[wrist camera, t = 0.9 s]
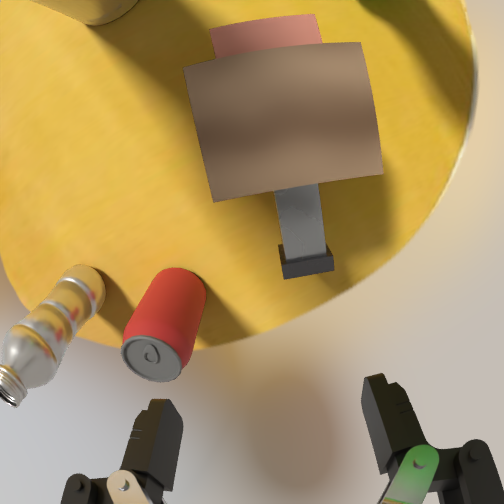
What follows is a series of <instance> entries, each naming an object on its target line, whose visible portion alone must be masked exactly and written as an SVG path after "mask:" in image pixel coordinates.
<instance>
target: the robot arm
mask: <svg viewBox="0 0 504 504" xmlns="http://www.w3.org/2000/svg"><path fill="white" fill-rule="evenodd" d="M30 1H33V2H35V3H38V4H41V5H43V6H46V7H48V8H51V9H53V10H55V11H58V12H60V13H62V14H65V15H67V16H69V17H71V18H73V19H76V20H78V21H80V22H82V23H84V24H87V25H102V24H106V23H109V22H111V21H113V20H115V19H117V18H119V17H121V16H122V15H123V14H125V13H126V12H128V11H129V10H130V9H131V8H132V7H133V6H134V5H135V4H136V3H137V1H138V0H30ZM361 404H362V409H363V414H364V417H365V420H366V424H367V427H368V431H369V434H370V438H371V441H372V445H373V448H374V452H375V456H376V460H377V464H378V467H379V471H380V474H384V473H388V475H389V479H390V480H389V482H388V484H387V486H386V488H385V490H384V492H383V493H382V496H381V497H380V499H379V501H378V503H377V504H422V503H423V501H424V498H425V496H426V494H427V493H428V492H437V493H438V497H439V502H440V504H504V490H503V487H502V484H501V480H500V477H499V474H498V471H497V468H496V466H495V463H494V460H493V457H492V454H491V452H490V450H489V447H488V445H487V444H486V443H485V442H484V441H482V440H478V439H474V440H470V441H468V442H467V443H466V444H465V445H463V447H459V448H451V449H437V448H435V447H433V446H431V445H430V444H429V443H428V442H427V441H426V439H425V436H424V434H423V432H422V429H421V427H420V424H419V422H418V419H417V417H416V414H415V412H414V411H413V407H412V405H411V403H410V402H409V398H408V396H407V393H406V391H405V390H404V389H403V388H402V387H401V386H400V385H399V384H398V383H397V382H395V383H391V384H388V383H387V380H386V378H385V376H384V374H383V373H380V374H376V375H372V376H368V377H365V378H364V384H363V391H362V398H361ZM182 433H183V421H182V418H181V416H180V415H179V413H178V412H177V410H176V408H175V407H174V405H173V404H172V402H171V400H169V399H152V400H151V401H150V404H149V406H148V410H142V411H141V413H140V414H139V415H138V416H137V418H136V419H135V422H134V425H133V431H132V432H131V435H130V439H129V441H128V445H127V448H126V451H125V455H124V458H123V462H122V465H121V468H120V469H119V470H118V471H115V472H113V473H112V474H111V475H110V476H109V477H107V478H98V479H89V478H88V477H86V476H85V475H83V474H74V475H72V476H70V477H69V478H68V480H67V482H66V485H65V489H64V492H63V496H62V500H61V504H167V503H166V501H165V500H164V498H163V497H162V496H163V491H172V490H173V484H174V477H175V472H176V466H177V461H178V455H179V449H180V444H181V439H182Z"/></svg>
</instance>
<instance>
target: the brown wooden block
mask: <svg viewBox="0 0 504 504" xmlns="http://www.w3.org/2000/svg"><path fill="white" fill-rule="evenodd" d="M183 71H184V76H185V80H186V85H187V90H188V94H189V99H190V104H191V108H192V113H193V117H194V122H195V126H196V130H197V135H198V139H199V144H200V148H201V152H202V156H203V161H204V165H205V169H206V173H207V178H208V182H209V186H210V190H211V194H212V198H213V202H219V201H223V200H228V199H233V198H238V197H243V196H248V195H254V194H259V193H264V192H270V191H275V190H281V189H286V188H292V187H298V186H304V185H310V184H316V183H323V182H329V181H336V180H343V179H350V178H357V177H364V176H372V175H380V174H383V164H382V155H381V147H380V139H379V132H378V125H377V118H376V112H375V106H374V101H373V95H372V90H371V85H370V80H369V76H368V71H367V67H366V62H365V58H364V54H363V50H362V46H361V42H344V43H320V44H306V45H296V46H287V47H279V48H271V49H265V50H258V51H252V52H247V53H241V54H236V55H231V56H227V57H222V58H218V59H213V60H209V61H205V62H201V63H198V64H194V65H190V66H187V67H183Z"/></svg>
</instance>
